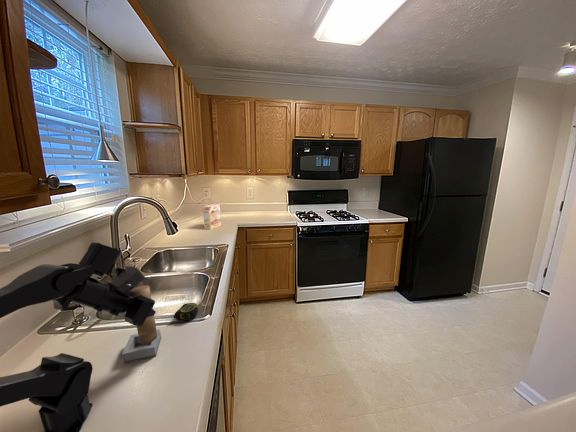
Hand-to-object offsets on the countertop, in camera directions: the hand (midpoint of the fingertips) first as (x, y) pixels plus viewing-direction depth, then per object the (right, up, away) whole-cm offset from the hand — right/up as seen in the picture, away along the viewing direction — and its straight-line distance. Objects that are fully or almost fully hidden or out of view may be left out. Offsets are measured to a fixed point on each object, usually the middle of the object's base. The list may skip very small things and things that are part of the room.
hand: (149, 311), depth 68 cm
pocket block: (-4, -13, +4) cm, 14 cm away
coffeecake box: (-27, +17, +144) cm, 147 cm away
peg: (-1, -8, 0) cm, 8 cm away
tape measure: (+2, -10, +20) cm, 22 cm away
